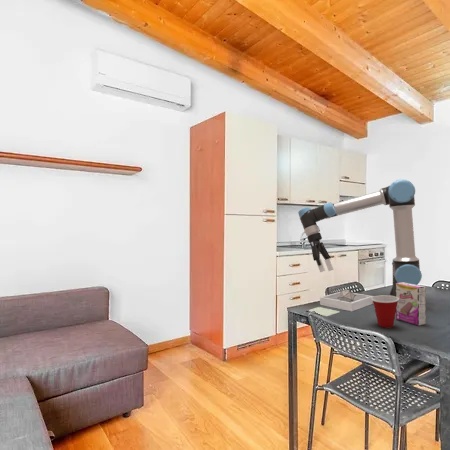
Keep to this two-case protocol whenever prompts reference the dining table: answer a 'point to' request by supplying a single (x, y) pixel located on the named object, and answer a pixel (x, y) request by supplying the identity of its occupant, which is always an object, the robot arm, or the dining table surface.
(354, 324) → the dining table surface
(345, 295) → the wireframe polyhedron
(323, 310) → the pad
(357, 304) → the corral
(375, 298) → the plastic cup
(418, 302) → the candy bar box
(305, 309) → the dining table surface
